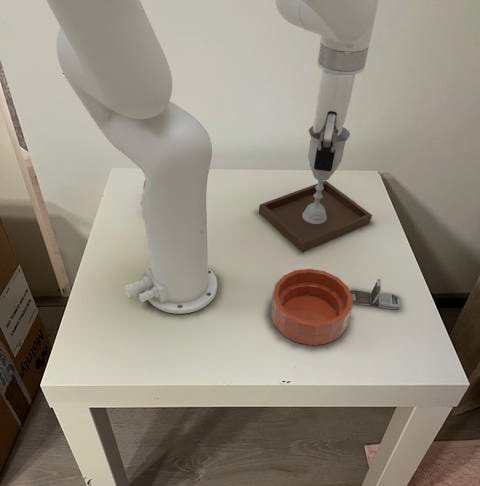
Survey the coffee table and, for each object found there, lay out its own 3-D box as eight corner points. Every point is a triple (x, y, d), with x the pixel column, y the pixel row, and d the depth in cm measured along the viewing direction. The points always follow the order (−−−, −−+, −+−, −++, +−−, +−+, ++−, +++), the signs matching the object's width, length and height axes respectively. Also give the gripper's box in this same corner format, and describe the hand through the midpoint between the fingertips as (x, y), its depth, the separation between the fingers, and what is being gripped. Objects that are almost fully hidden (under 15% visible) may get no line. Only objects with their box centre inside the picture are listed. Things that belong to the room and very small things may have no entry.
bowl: (302, 357, 76) (306, 337, 72) (256, 307, 83) (258, 286, 79) (362, 325, 80) (369, 305, 77) (314, 280, 87) (318, 259, 84)
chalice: (331, 208, 102) (349, 125, 88) (332, 228, 97) (351, 143, 84) (297, 205, 102) (308, 122, 88) (296, 224, 97) (308, 140, 84)
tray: (302, 252, 92) (303, 243, 91) (258, 213, 100) (259, 204, 99) (369, 223, 99) (372, 215, 98) (324, 188, 107) (325, 180, 106)
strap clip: (398, 298, 85) (404, 280, 82) (398, 310, 83) (406, 293, 80) (349, 291, 86) (354, 273, 83) (348, 303, 84) (354, 285, 81)
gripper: (323, 34, 83) (309, 134, 96) (312, 75, 71) (298, 181, 85) (368, 39, 82) (347, 139, 95) (364, 81, 70) (341, 187, 84)
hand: (324, 158), depth 90 cm, fingers open, 6 cm apart
